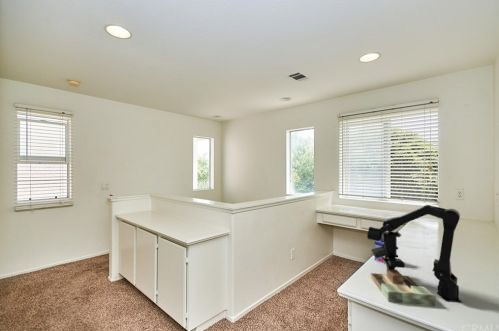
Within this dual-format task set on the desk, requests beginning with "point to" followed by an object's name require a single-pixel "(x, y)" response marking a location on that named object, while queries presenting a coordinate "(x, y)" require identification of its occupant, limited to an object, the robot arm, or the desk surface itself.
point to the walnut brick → (394, 276)
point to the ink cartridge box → (377, 244)
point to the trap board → (403, 291)
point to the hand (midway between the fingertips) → (389, 273)
